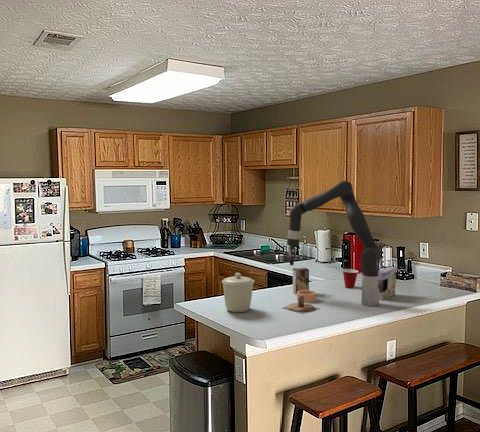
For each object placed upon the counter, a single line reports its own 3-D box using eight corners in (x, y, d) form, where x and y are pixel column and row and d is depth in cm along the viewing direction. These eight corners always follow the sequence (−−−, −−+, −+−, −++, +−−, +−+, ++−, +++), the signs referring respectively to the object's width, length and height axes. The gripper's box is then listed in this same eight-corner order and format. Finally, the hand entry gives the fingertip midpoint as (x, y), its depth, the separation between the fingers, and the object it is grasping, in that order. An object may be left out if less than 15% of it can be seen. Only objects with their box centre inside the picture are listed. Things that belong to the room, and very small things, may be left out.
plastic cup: (358, 289, 327) (359, 271, 326) (341, 289, 329) (342, 271, 328) (358, 286, 337) (358, 268, 336) (341, 285, 339) (342, 268, 338)
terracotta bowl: (320, 300, 297) (320, 292, 297) (307, 304, 290) (308, 295, 289) (305, 297, 306) (305, 289, 305) (293, 300, 298) (293, 292, 297)
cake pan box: (381, 300, 298) (382, 271, 297) (373, 299, 302) (374, 270, 300) (396, 295, 312) (396, 267, 311) (388, 294, 316) (389, 266, 314)
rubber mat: (321, 309, 278) (321, 308, 278) (302, 314, 267) (302, 313, 267) (299, 303, 290) (299, 303, 290) (280, 308, 279) (280, 308, 279)
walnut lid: (319, 308, 278) (320, 296, 278) (302, 313, 268) (302, 300, 268) (299, 303, 289) (299, 291, 289) (282, 308, 279) (282, 295, 279)
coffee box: (305, 292, 319) (306, 267, 318) (309, 294, 313) (309, 269, 312) (292, 292, 317) (292, 268, 316) (295, 295, 311) (295, 269, 310)
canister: (234, 316, 263) (234, 277, 262) (215, 309, 278) (215, 272, 276) (260, 311, 274) (261, 273, 272) (241, 304, 288) (241, 268, 287)
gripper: (300, 240, 295) (298, 266, 297) (298, 236, 309) (296, 261, 311) (288, 238, 295) (285, 265, 297) (286, 235, 309) (284, 260, 311)
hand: (290, 263), depth 304 cm, fingers open, 8 cm apart
